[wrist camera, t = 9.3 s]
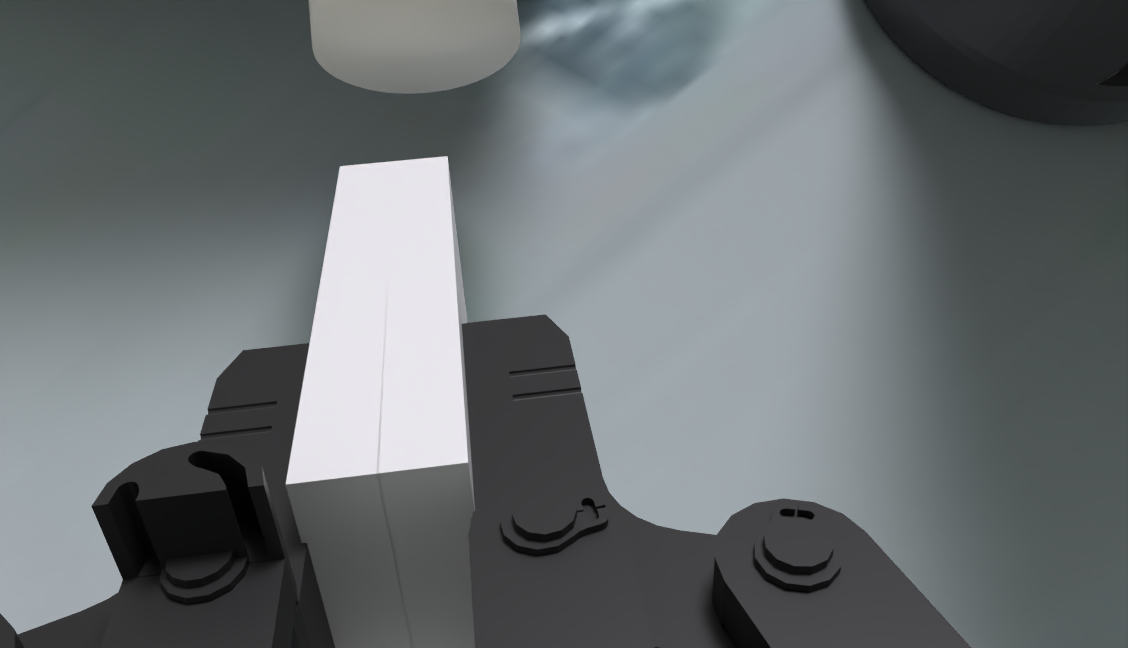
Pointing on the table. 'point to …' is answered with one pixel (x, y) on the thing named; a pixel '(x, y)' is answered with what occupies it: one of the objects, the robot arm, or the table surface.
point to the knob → (413, 42)
